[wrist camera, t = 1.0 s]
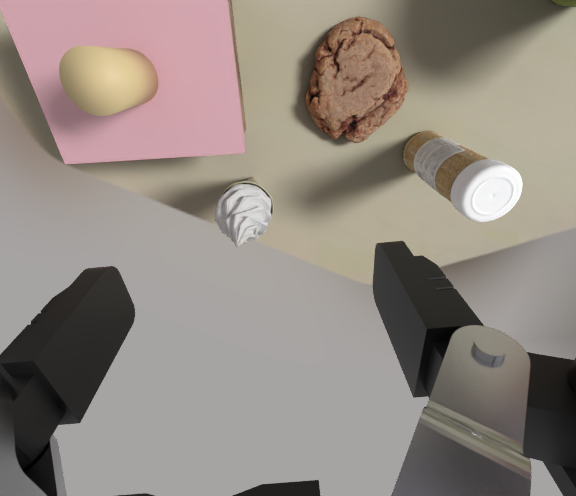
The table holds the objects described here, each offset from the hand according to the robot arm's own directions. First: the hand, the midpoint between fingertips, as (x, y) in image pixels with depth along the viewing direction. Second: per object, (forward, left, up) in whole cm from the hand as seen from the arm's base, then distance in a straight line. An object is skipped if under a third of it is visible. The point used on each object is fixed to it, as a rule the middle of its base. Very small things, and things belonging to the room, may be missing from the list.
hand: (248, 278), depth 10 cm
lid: (-5, -9, -21) cm, 24 cm away
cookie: (-3, +9, -28) cm, 29 cm away
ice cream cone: (+6, -2, -27) cm, 28 cm away
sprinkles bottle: (+4, +17, -27) cm, 32 cm away
